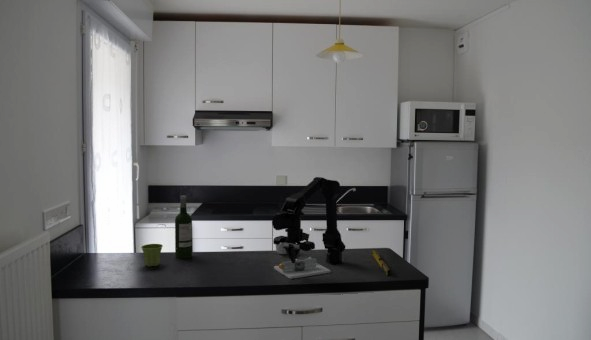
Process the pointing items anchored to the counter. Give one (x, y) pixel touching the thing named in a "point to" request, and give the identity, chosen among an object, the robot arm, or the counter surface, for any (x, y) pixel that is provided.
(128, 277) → the counter surface
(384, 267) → the spirit level
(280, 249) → the cup
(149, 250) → the plant pot
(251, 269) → the counter surface
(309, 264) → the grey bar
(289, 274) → the white mechanism board
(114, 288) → the counter surface
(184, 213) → the wine bottle
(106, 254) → the counter surface
